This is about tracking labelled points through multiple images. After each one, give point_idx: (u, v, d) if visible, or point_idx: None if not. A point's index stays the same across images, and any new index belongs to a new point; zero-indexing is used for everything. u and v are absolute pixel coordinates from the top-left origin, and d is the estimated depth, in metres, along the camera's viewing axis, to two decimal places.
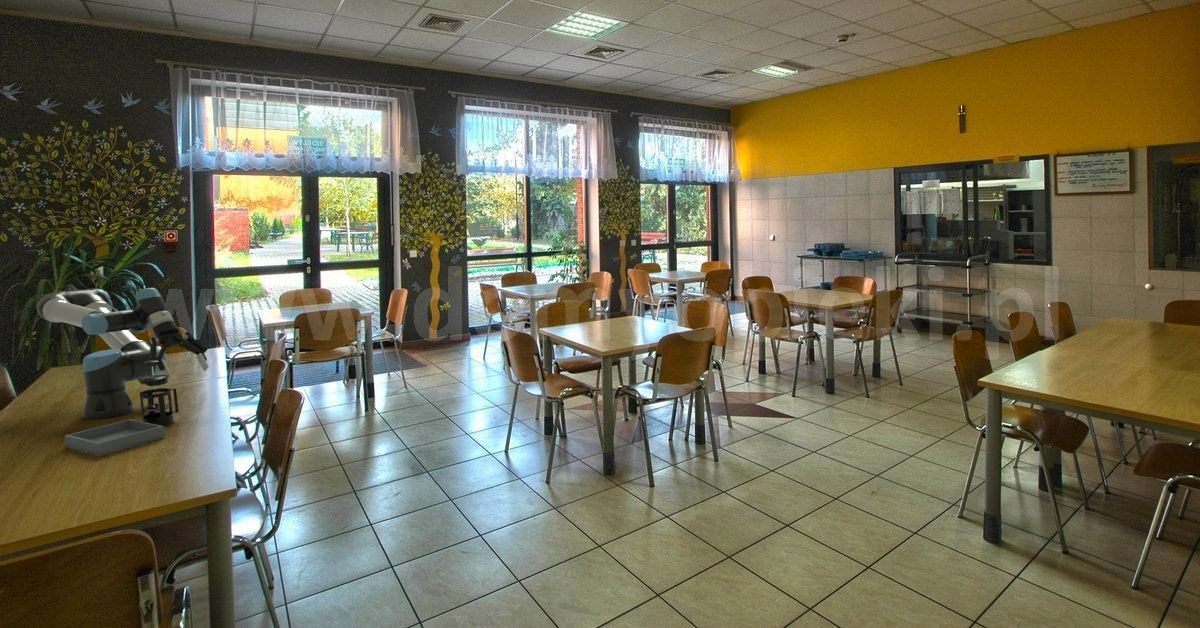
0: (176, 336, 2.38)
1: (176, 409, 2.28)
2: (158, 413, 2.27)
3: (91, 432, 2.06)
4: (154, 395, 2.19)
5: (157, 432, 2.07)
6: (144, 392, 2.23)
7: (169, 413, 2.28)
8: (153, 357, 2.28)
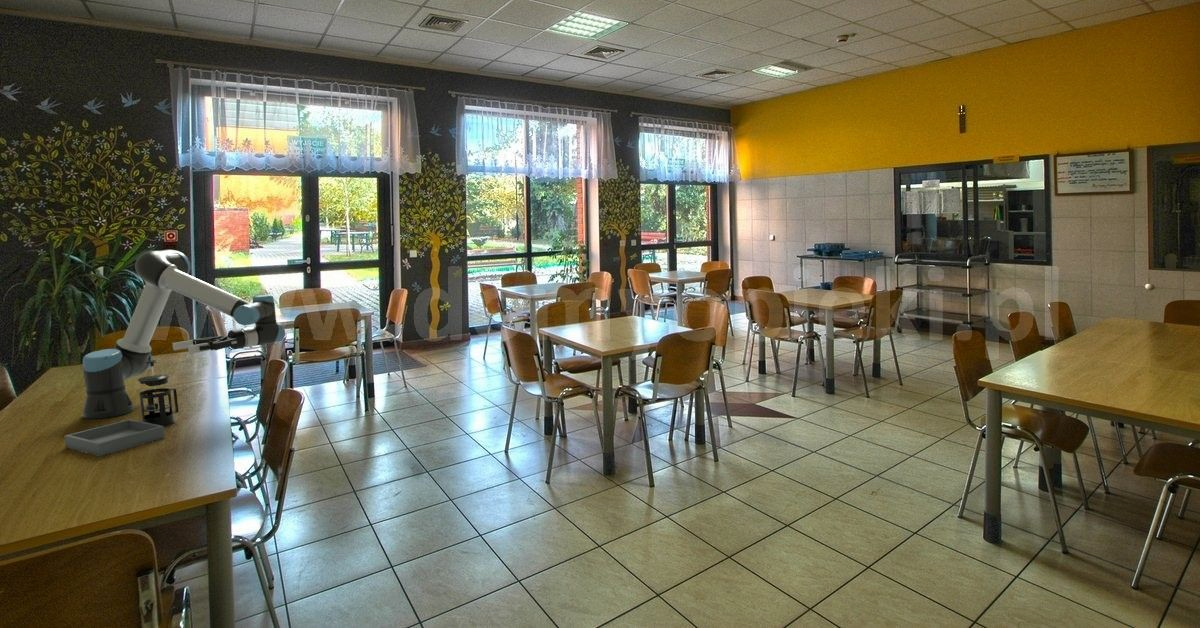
0: None
1: (176, 409, 2.28)
2: (158, 413, 2.27)
3: (91, 432, 2.06)
4: (154, 395, 2.19)
5: (157, 432, 2.07)
6: (144, 392, 2.23)
7: (169, 413, 2.28)
8: (217, 349, 2.29)
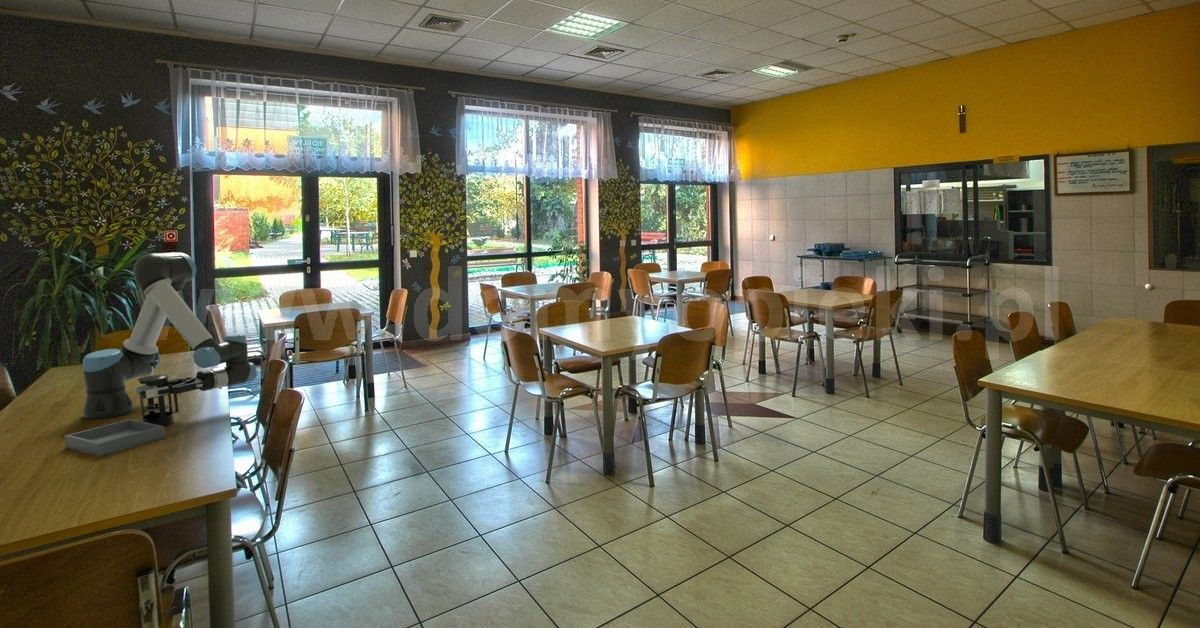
0: None
1: (176, 409, 2.28)
2: (158, 413, 2.27)
3: (91, 432, 2.06)
4: None
5: (157, 432, 2.07)
6: (144, 392, 2.23)
7: (169, 413, 2.28)
8: (176, 393, 2.22)
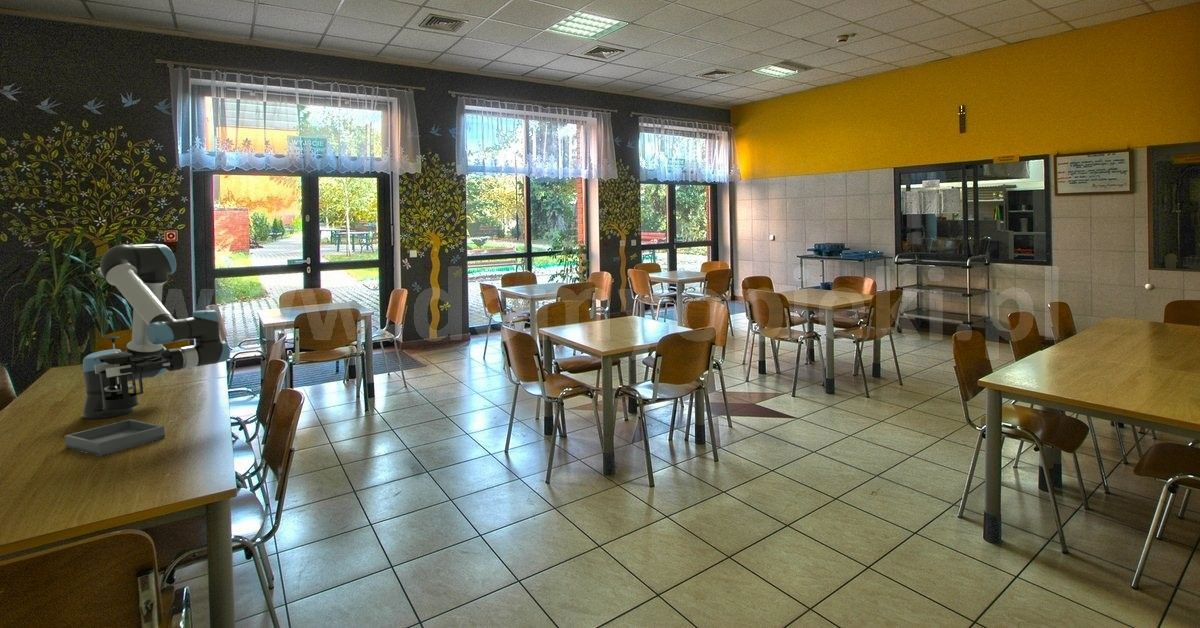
0: None
1: (141, 390, 2.10)
2: (120, 394, 2.09)
3: (91, 432, 2.06)
4: None
5: (157, 432, 2.07)
6: (105, 371, 2.05)
7: (133, 394, 2.09)
8: (141, 372, 2.03)
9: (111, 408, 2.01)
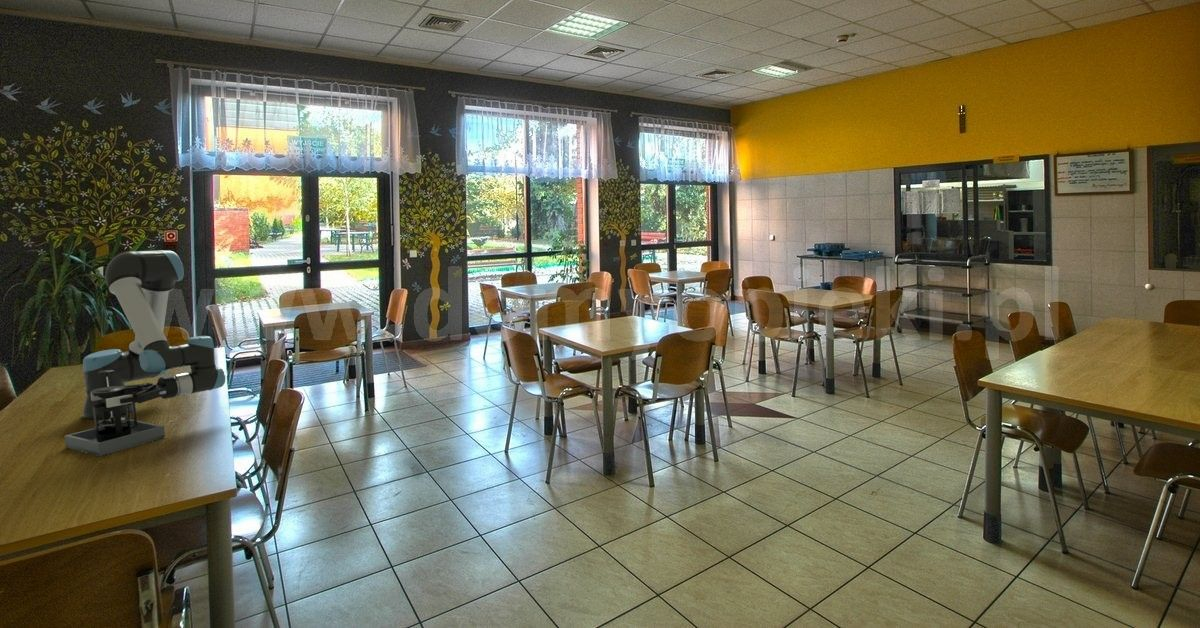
0: None
1: (135, 423, 2.09)
2: (114, 428, 2.07)
3: (91, 432, 2.06)
4: (109, 408, 1.99)
5: (157, 432, 2.07)
6: (98, 405, 2.03)
7: (127, 428, 2.08)
8: None
9: None
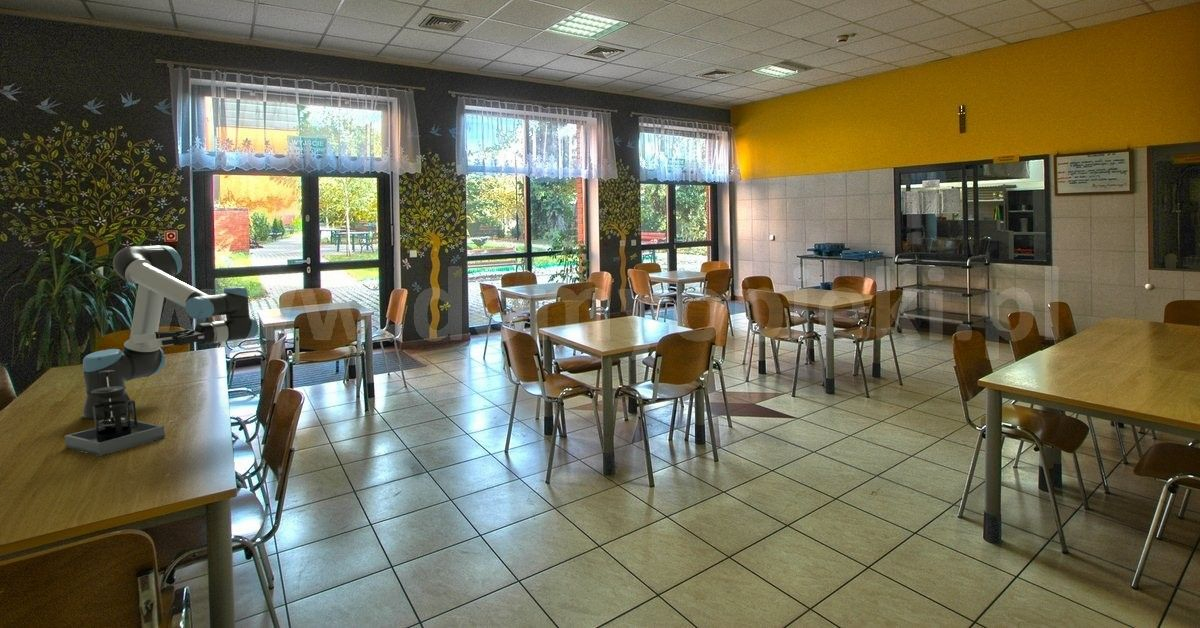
0: None
1: (135, 423, 2.09)
2: (114, 428, 2.07)
3: (91, 432, 2.06)
4: (109, 408, 1.99)
5: (157, 432, 2.07)
6: (99, 405, 2.03)
7: (127, 428, 2.08)
8: (181, 344, 2.10)
9: None
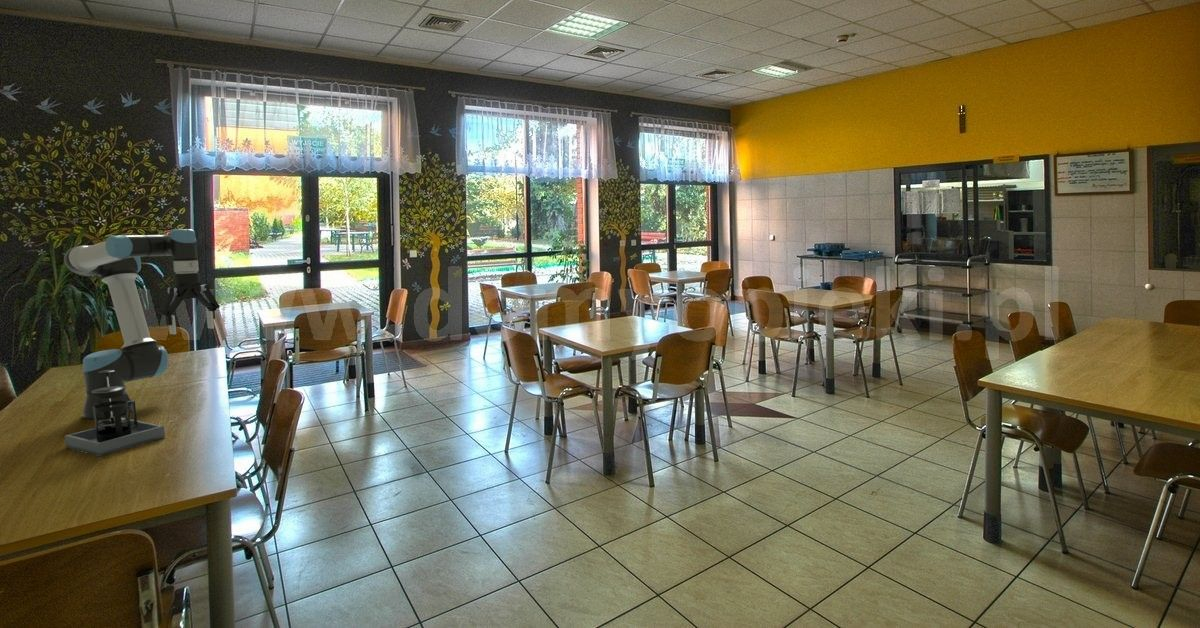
0: (195, 290, 2.27)
1: (135, 423, 2.09)
2: (114, 428, 2.07)
3: (91, 432, 2.06)
4: (109, 408, 1.99)
5: (157, 432, 2.07)
6: (99, 405, 2.03)
7: (127, 428, 2.08)
8: (165, 312, 2.19)
9: None
